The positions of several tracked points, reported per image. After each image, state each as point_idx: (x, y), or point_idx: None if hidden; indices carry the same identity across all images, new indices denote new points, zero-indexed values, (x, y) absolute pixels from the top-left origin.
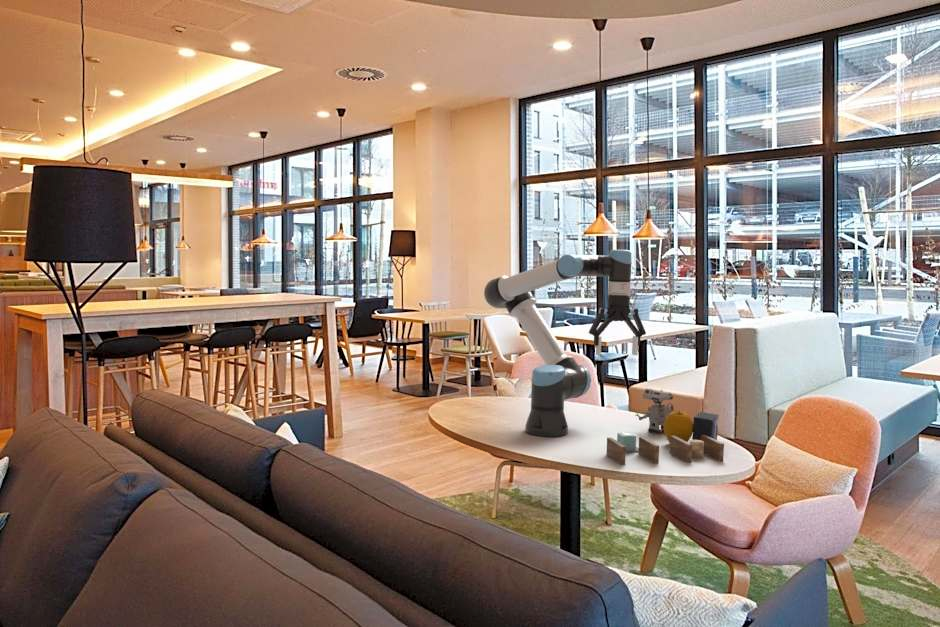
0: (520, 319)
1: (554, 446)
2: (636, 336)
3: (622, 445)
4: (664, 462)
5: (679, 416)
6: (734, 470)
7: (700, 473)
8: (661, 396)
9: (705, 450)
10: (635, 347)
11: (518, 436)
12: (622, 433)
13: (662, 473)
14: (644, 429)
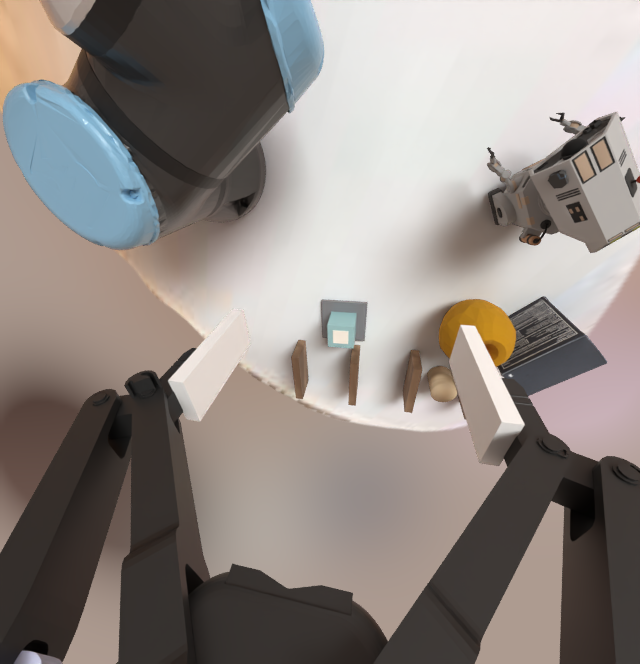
0: None
1: (224, 284)
2: (508, 450)
3: (299, 393)
4: (368, 384)
5: None
6: (443, 425)
7: (388, 422)
8: (574, 231)
9: None
10: (459, 394)
11: None
12: (333, 333)
13: (340, 412)
14: (502, 155)
